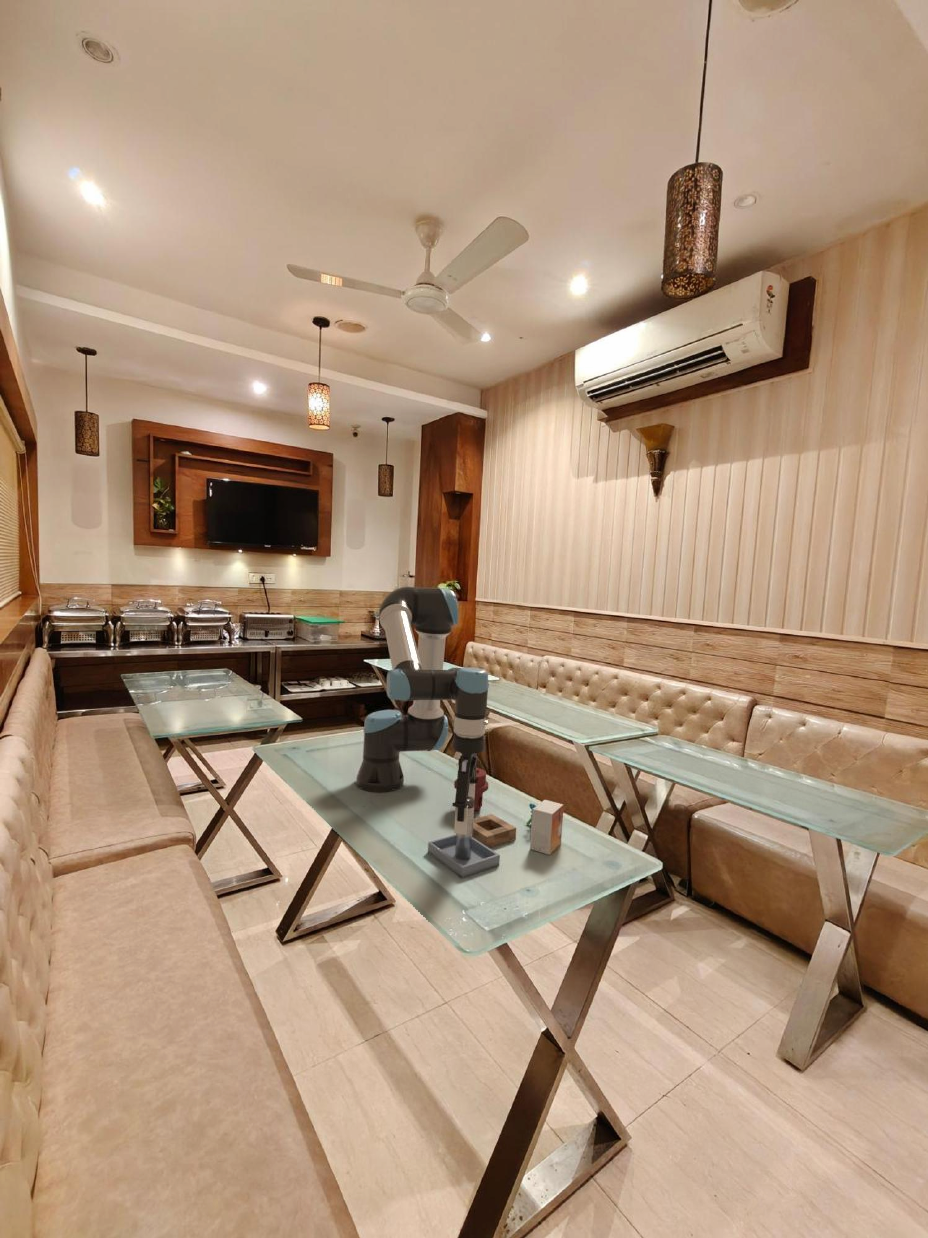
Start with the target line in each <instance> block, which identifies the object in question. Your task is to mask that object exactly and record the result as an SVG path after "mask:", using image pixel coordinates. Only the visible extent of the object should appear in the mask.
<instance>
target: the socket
mask: <svg viewBox="0 0 928 1238" xmlns="http://www.w3.org/2000/svg"><path fill="white" fill-rule="evenodd" d="M473 838H474V839H476V840H478V841H479V842H481V843H482V844H484V845H485V846H487V847H488V848H490V849H491V848H492V847H496V846H499V845H501V844H504V843H508V842H511V841H514V840H516V839H517V827H516V826H514V825H512V824H511V823H509V822H507V821H505V820H504V819H501V818H499V817H498V816H496V815H494V814H492V813H490V814H487V815H483V816H479V817H476V818H473Z"/></svg>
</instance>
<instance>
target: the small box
mask: <svg viewBox="0 0 928 1238" xmlns="http://www.w3.org/2000/svg"><path fill="white" fill-rule="evenodd" d="M535 806H536V807H535V808H533V809H531V810H532V813H531V814H532V821H531V823H530V825H531V826H530V841H529V843H530V844H529V849H530V850H533V851H536V852H539V853H542V854H545V855H548V856H549V855H551V854H552V853H553V852H554V851H555V850H556V849H558V847H559V846H560V845H562V834H563V821H564V820H563V819H564V809H565V808H564V806H565V805H564V804H562V803H559V802H555V801H552V800H548V799H543V800H542V801H541V802H540V803H539V804H537V805H535Z"/></svg>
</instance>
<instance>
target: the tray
mask: <svg viewBox="0 0 928 1238" xmlns="http://www.w3.org/2000/svg"><path fill="white" fill-rule="evenodd" d="M455 843H456V834H455V833H454V834H452V835H448V836H445V837H441V838H437V839H435V840H432V841H428V843H427V844H428V845H427V853H428V854H430V856H432V857H433V858H435V859H436V860H437V861H438V862H440V863H441V864H443V865H444V866H445V867H447V869H449V870H450V871H452V872H453V873H454V874H456V875H457V876H458V877H459V878H461V879H464V878H467V877H470V876H473V875H475V874H479V873H481V872H484V871H487V870H490V869H493V868H496V867H498V866H500V861H501V860H500V859H501V857H500V854H499V853H498V852H496V851H495V850H493V849H491V847H490V848H488V847H487V846H485V845H484V844H482V843H481V842H479V841H478V840H476V839H474V838H473V837H472V856H471V858H470V859H469V860H459V859H457V858H456V857H455Z"/></svg>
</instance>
